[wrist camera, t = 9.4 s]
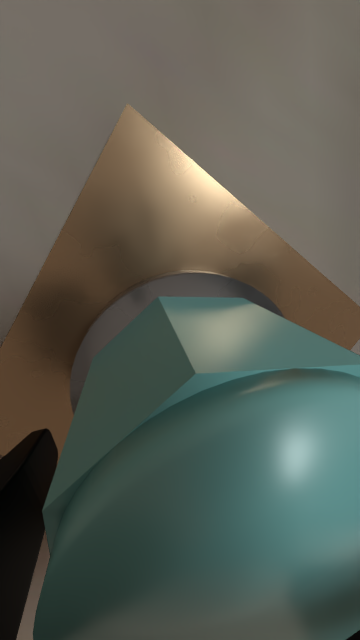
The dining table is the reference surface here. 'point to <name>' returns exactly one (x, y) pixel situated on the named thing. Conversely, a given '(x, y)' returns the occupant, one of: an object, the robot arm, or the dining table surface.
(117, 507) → the cap
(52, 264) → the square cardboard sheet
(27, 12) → the dining table surface
